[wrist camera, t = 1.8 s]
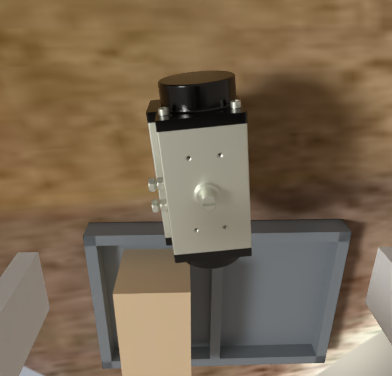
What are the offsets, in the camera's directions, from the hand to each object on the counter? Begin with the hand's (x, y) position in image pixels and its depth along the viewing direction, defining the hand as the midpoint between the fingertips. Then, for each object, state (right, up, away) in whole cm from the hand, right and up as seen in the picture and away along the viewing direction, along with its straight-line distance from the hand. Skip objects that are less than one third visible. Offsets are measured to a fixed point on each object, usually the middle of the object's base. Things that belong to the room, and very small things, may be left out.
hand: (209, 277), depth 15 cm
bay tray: (+1, -7, +23) cm, 24 cm away
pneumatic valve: (-1, +8, +16) cm, 18 cm away
